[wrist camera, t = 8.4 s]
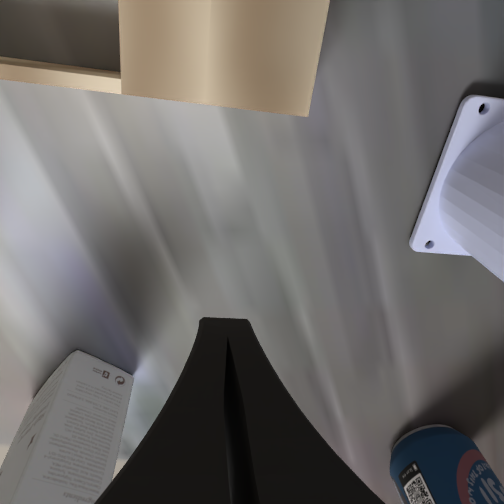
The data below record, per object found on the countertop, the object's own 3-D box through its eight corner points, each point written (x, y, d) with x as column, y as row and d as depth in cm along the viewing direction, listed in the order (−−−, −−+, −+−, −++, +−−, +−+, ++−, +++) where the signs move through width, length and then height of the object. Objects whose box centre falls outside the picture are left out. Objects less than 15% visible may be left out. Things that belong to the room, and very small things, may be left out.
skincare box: (73, 345, 22) (-50, 617, 12) (140, 375, 24) (83, 637, 13) (27, 404, 24) (-113, 681, 14) (92, 428, 26) (10, 691, 15)
